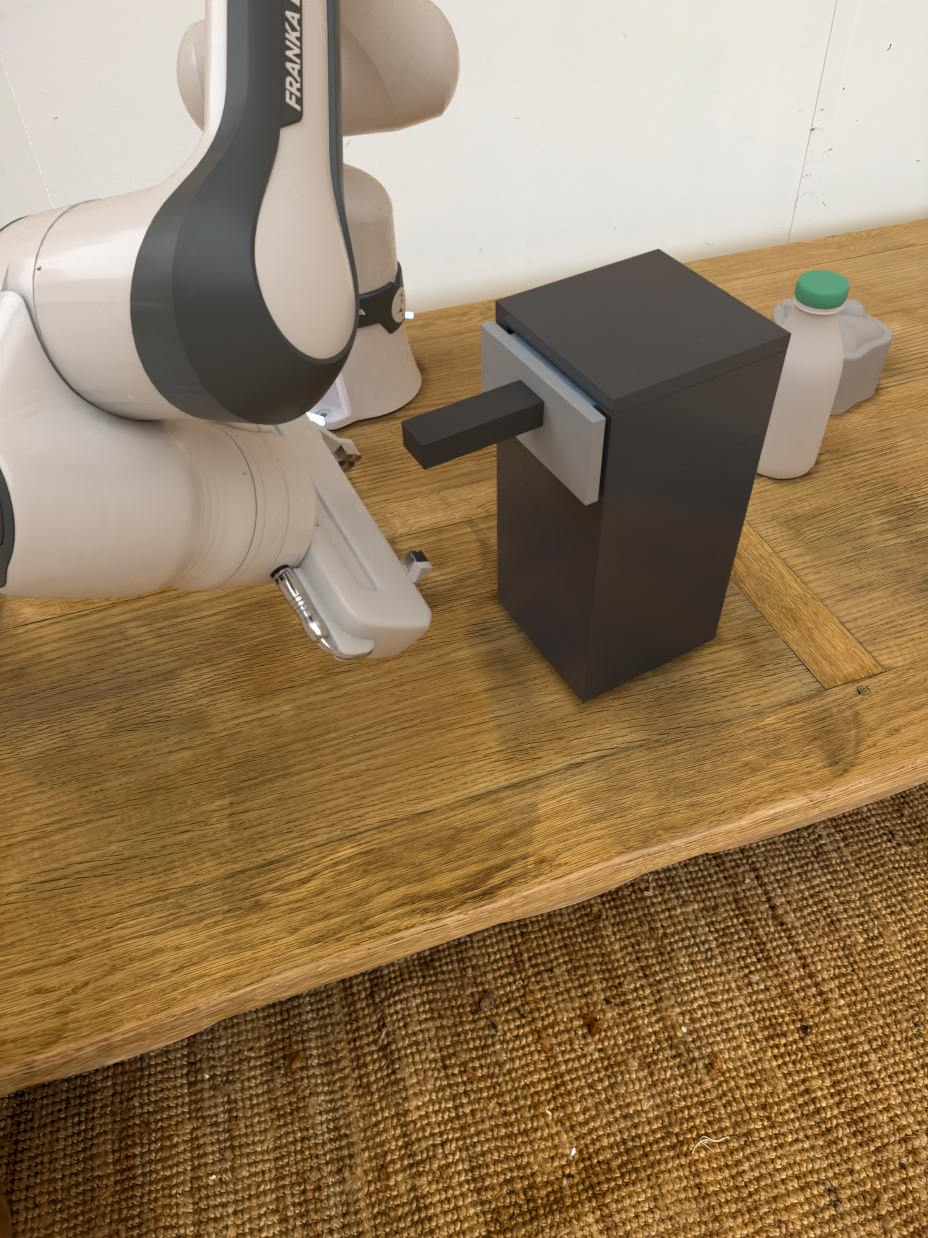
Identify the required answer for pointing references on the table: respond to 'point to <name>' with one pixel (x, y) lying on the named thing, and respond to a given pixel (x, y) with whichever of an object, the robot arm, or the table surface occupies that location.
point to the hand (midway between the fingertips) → (385, 510)
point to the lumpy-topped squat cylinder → (853, 351)
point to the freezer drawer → (517, 416)
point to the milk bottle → (806, 376)
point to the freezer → (636, 466)
